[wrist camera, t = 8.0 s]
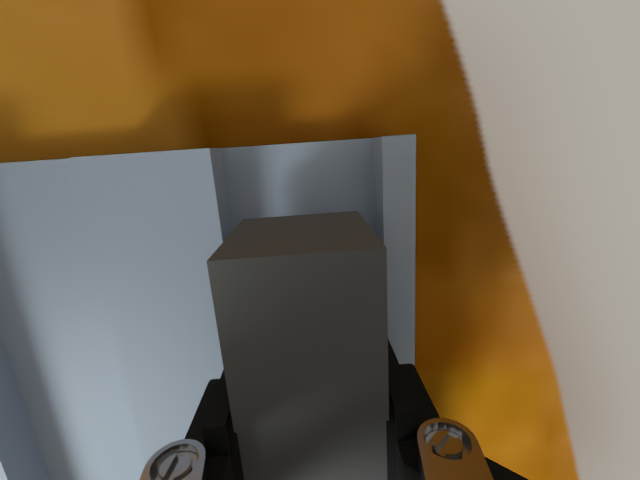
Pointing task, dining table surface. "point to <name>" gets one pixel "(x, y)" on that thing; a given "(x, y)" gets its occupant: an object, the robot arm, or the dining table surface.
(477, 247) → the dining table surface
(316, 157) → the slot rack
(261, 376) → the dark gray block
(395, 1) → the dining table surface
